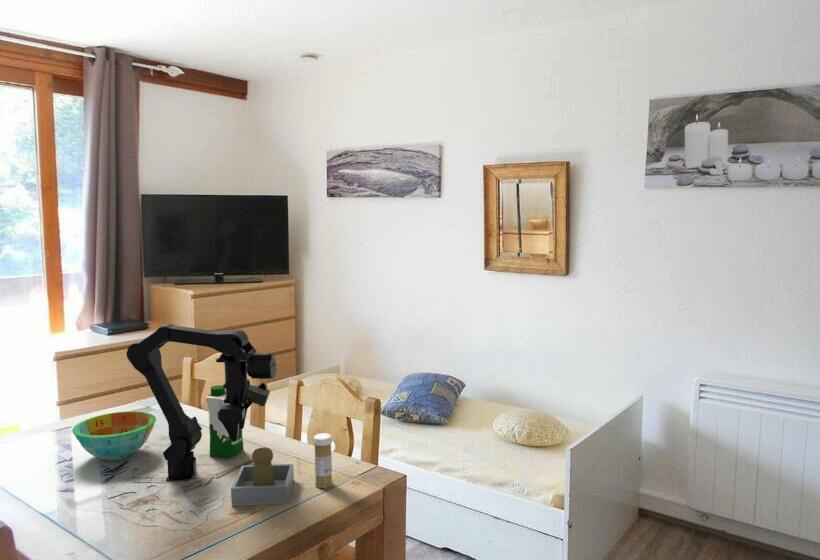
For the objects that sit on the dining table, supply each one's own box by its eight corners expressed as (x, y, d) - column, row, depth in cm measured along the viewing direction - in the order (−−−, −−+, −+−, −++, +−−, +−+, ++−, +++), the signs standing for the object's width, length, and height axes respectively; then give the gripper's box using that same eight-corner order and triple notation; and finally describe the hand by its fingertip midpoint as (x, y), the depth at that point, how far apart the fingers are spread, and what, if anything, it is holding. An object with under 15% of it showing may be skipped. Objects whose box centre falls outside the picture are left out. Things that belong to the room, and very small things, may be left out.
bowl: (56, 464, 181) (53, 430, 180) (118, 437, 201) (116, 407, 200) (115, 476, 173) (113, 441, 171) (174, 447, 193) (172, 415, 192)
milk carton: (222, 446, 194) (220, 382, 191) (248, 449, 191) (245, 385, 189) (204, 457, 186) (201, 390, 183) (231, 460, 183) (228, 393, 180)
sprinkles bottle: (329, 480, 170) (328, 431, 168) (334, 486, 166) (333, 437, 164) (312, 483, 168) (311, 434, 166) (318, 490, 164) (316, 440, 162)
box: (231, 506, 155) (230, 488, 155) (242, 481, 169) (241, 465, 168) (287, 503, 156) (287, 486, 156) (293, 479, 170) (293, 463, 169)
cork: (270, 496, 159) (268, 454, 158) (247, 494, 160) (246, 452, 159) (279, 486, 165) (278, 445, 164) (257, 484, 166) (256, 444, 165)
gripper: (261, 387, 160) (262, 447, 162) (272, 368, 178) (273, 422, 180) (216, 388, 159) (218, 448, 161) (231, 369, 178) (233, 423, 179)
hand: (238, 434), depth 170 cm, fingers open, 9 cm apart
